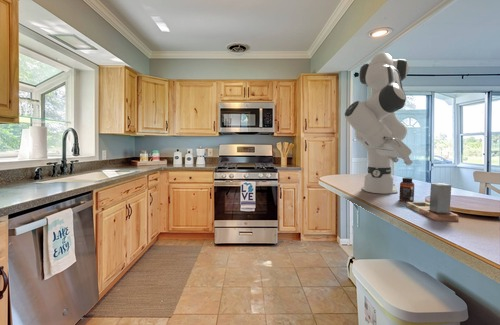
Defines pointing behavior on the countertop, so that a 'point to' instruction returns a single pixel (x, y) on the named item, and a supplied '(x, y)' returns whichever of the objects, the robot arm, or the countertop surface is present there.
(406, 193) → the supplement bottle
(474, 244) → the countertop surface
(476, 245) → the countertop surface
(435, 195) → the graphite peg
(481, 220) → the countertop surface
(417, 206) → the wooden tray
